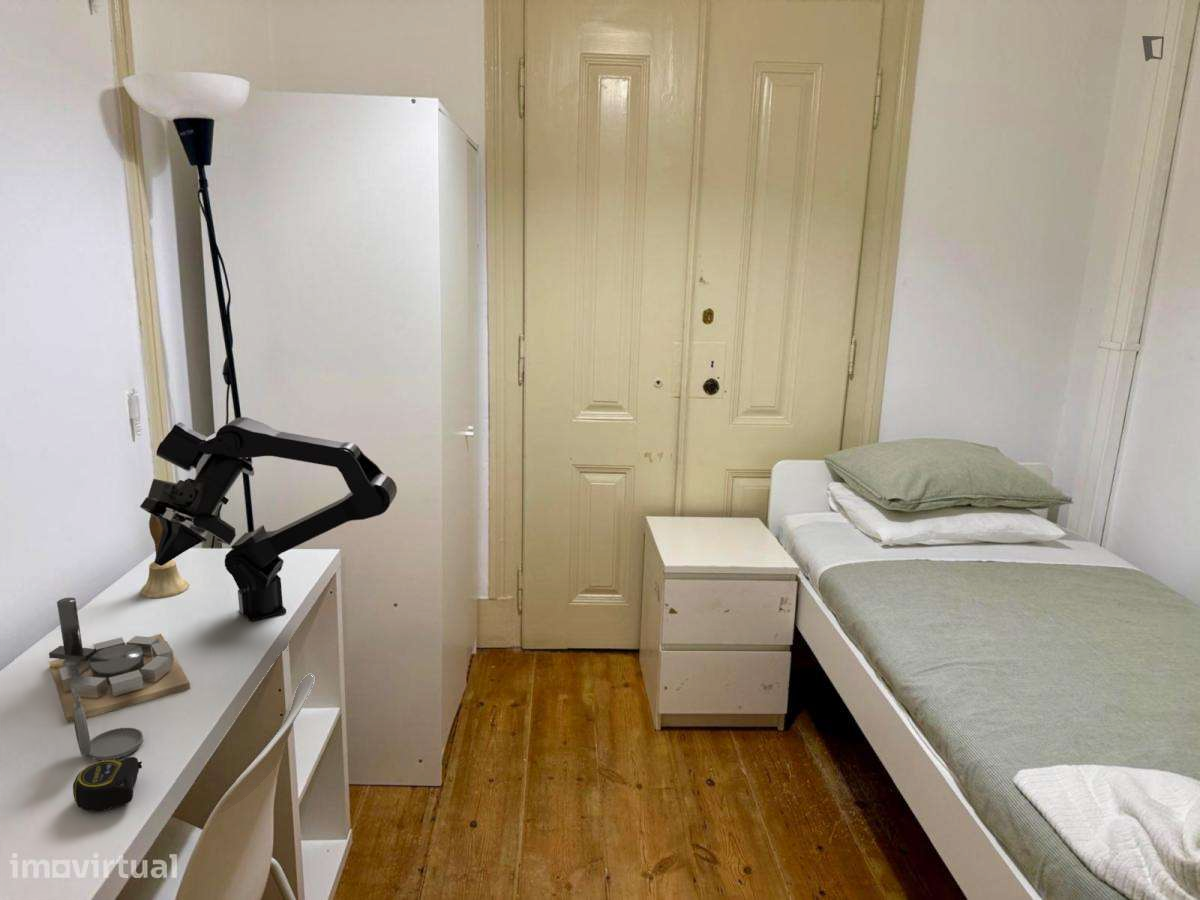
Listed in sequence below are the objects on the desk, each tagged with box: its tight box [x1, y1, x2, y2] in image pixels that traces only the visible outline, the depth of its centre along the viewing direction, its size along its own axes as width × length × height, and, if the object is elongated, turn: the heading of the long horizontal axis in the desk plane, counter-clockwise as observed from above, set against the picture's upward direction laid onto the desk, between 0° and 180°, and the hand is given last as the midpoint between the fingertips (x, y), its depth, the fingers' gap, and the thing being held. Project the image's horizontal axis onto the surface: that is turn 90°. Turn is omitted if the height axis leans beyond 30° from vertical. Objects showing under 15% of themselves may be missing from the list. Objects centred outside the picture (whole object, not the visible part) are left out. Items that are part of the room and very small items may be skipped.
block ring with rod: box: [48, 597, 174, 698], centre depth 130 cm, size 15×18×11 cm
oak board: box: [49, 633, 191, 724], centre depth 132 cm, size 16×19×1 cm
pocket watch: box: [72, 689, 144, 761], centre depth 113 cm, size 8×8×10 cm
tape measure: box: [72, 756, 143, 812], centre depth 105 cm, size 7×7×4 cm
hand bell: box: [140, 514, 190, 599], centre depth 160 cm, size 8×8×16 cm
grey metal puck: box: [90, 644, 144, 685], centre depth 131 cm, size 7×7×3 cm
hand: (157, 564), depth 140 cm, fingers closed
